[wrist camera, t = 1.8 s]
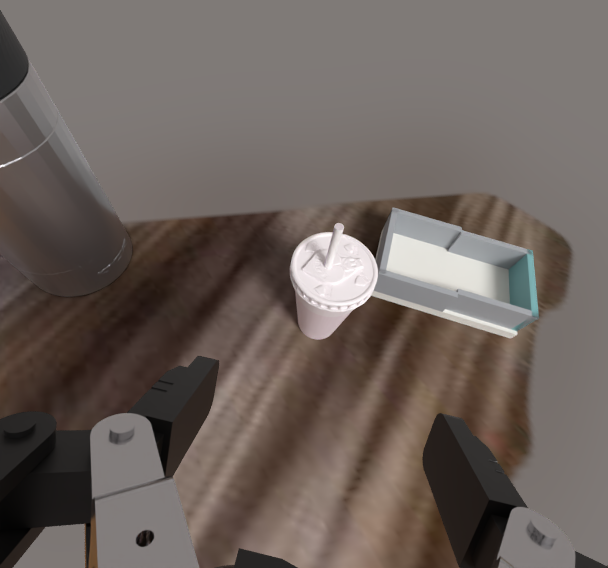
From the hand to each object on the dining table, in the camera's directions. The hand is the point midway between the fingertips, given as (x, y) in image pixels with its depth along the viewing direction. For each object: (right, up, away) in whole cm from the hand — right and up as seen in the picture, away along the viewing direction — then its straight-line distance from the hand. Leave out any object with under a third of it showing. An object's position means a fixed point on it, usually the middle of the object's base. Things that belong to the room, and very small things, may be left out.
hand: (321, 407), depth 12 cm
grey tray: (+14, +5, +24) cm, 28 cm away
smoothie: (+1, +1, +20) cm, 20 cm away
